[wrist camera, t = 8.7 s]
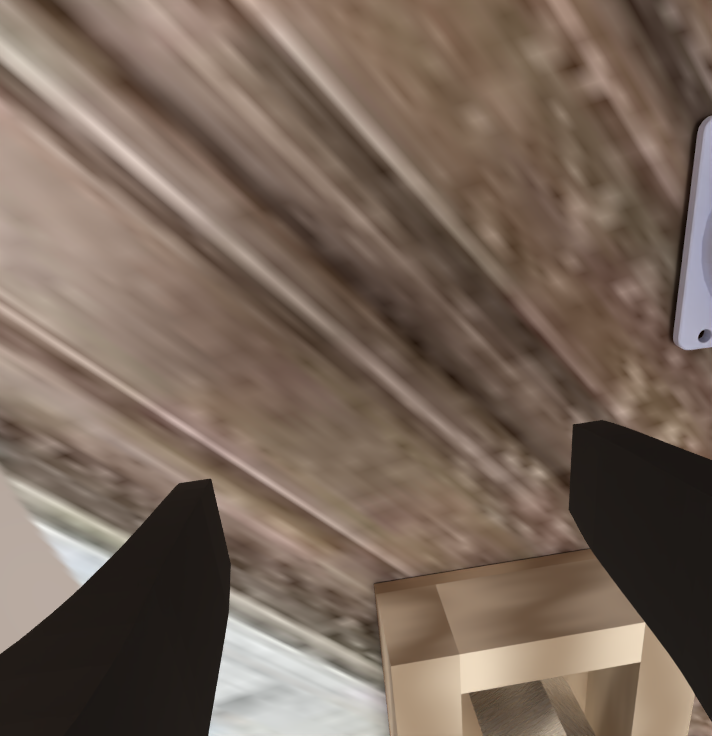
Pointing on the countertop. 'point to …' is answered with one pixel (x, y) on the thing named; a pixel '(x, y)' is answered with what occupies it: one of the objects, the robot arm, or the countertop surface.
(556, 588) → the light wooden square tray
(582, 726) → the brushed grey metal block
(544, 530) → the countertop surface
